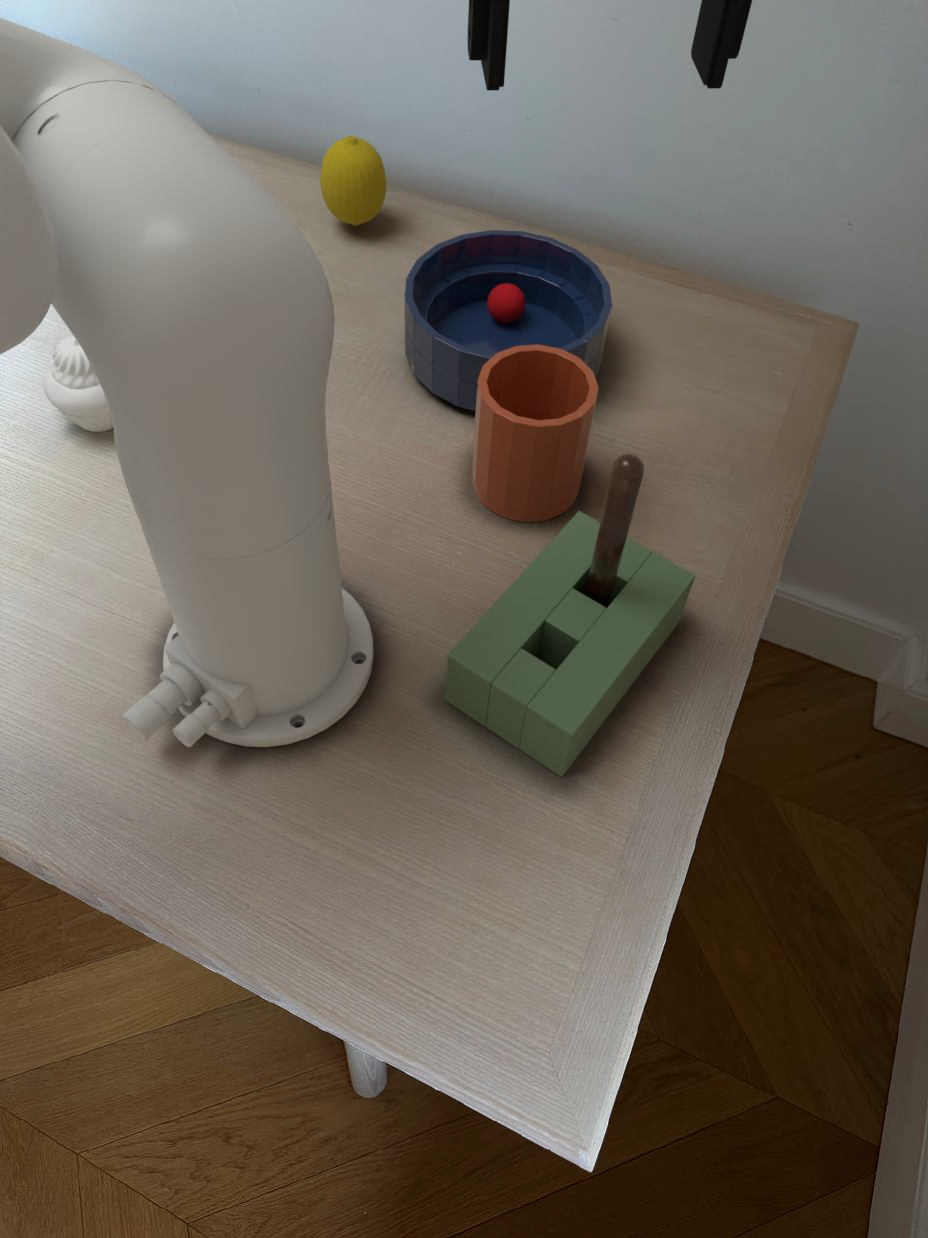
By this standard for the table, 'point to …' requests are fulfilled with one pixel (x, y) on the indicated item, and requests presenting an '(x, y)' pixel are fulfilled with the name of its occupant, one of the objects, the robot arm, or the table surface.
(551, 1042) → the table surface
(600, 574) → the stick
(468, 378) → the bowl
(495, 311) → the berry
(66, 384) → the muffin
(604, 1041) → the table surface
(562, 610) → the holder
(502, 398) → the crock
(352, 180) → the lemon
